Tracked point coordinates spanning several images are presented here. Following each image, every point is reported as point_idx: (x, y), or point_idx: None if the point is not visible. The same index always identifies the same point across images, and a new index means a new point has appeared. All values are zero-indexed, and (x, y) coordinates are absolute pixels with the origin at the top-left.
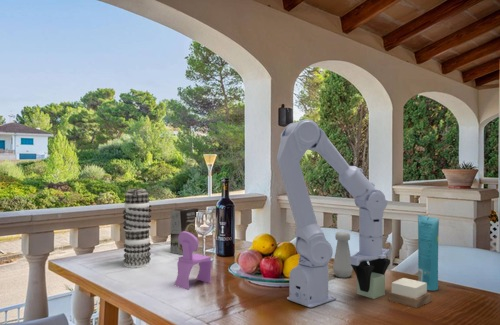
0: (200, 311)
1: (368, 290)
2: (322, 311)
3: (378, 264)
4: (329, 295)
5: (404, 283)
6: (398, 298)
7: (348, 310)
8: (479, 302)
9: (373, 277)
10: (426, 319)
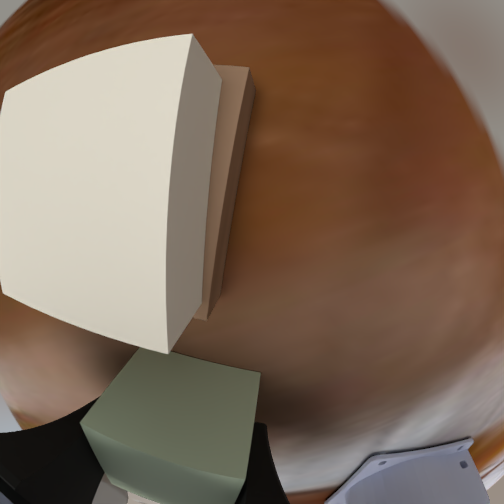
0: (491, 477)
1: (254, 426)
2: (488, 409)
3: (63, 494)
4: (362, 475)
5: (92, 222)
6: (223, 231)
7: (471, 372)
8: (39, 7)
9: (210, 481)
10: (395, 20)
